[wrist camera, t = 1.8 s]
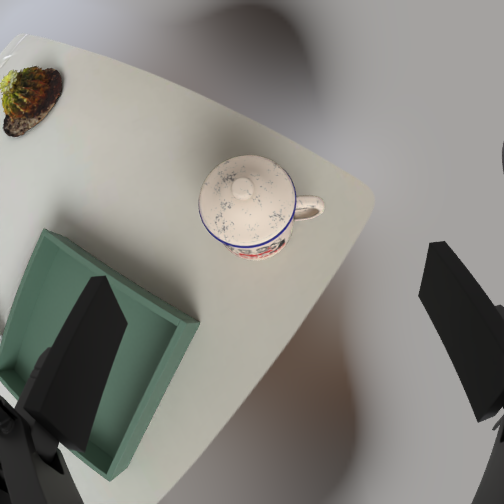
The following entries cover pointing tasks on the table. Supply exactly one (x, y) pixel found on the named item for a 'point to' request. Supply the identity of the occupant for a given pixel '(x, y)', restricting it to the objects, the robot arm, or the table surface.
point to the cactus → (28, 97)
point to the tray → (127, 358)
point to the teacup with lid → (253, 206)
